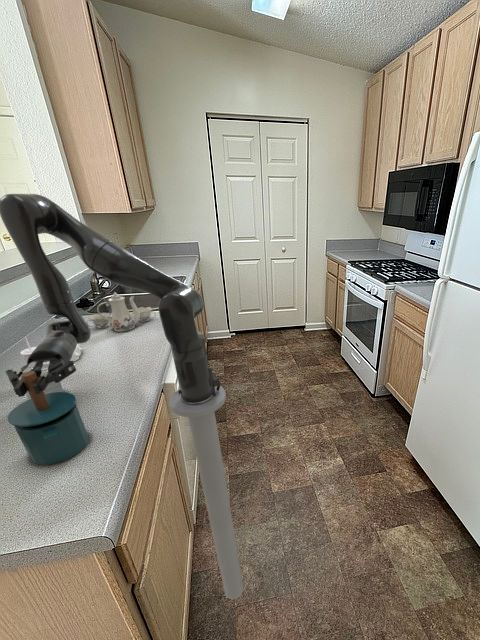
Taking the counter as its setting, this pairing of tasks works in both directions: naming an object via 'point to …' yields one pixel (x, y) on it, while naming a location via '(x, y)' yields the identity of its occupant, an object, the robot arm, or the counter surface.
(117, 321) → the chinaware
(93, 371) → the counter surface
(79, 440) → the cooking pot
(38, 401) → the lid
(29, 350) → the smoothie
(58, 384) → the medicine box
